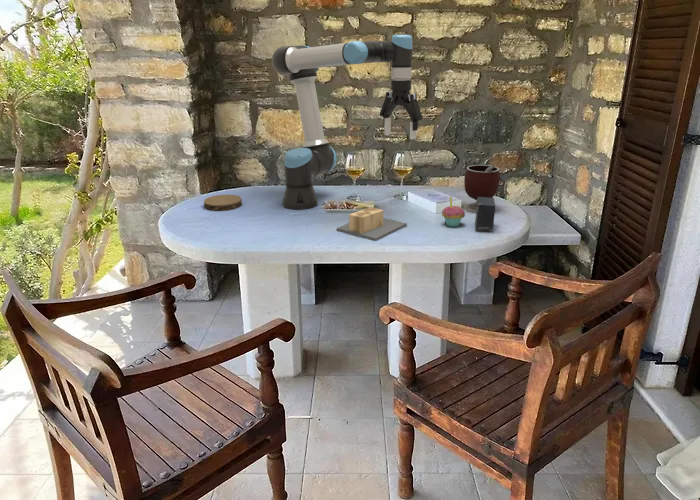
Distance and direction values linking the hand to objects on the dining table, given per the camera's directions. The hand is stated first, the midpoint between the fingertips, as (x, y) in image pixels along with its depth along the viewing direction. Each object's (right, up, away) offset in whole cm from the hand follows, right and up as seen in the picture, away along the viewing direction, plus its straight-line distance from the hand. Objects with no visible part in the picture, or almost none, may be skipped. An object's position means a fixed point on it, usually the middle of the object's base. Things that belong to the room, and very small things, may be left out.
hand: (399, 137), depth 201 cm
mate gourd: (+35, -27, +14) cm, 46 cm away
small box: (+31, -36, -7) cm, 48 cm away
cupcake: (+20, -34, -3) cm, 40 cm away
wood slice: (-74, -25, +23) cm, 82 cm away
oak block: (-9, -31, -6) cm, 33 cm away
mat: (-11, -36, -6) cm, 38 cm away
